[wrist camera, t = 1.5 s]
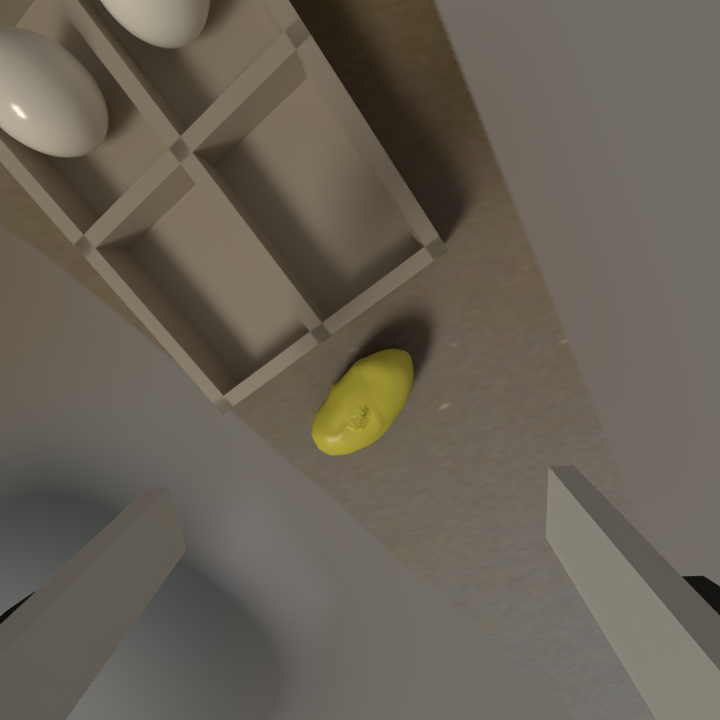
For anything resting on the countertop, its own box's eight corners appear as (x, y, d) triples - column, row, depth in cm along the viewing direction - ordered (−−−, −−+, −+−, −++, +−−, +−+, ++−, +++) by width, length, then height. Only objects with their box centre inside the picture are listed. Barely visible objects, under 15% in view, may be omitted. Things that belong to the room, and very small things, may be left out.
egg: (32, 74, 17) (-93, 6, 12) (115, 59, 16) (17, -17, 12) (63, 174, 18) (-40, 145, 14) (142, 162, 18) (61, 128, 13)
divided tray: (-29, 78, 18) (-103, 44, 15) (162, -176, 14) (111, -278, 12) (242, 395, 22) (222, 413, 19) (439, 252, 18) (448, 250, 16)
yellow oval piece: (300, 412, 22) (283, 442, 18) (385, 325, 20) (385, 339, 16) (347, 452, 22) (340, 489, 19) (433, 371, 21) (444, 395, 17)
